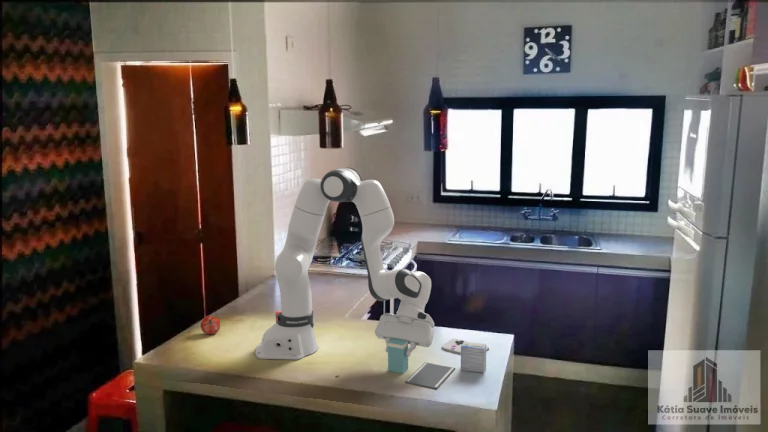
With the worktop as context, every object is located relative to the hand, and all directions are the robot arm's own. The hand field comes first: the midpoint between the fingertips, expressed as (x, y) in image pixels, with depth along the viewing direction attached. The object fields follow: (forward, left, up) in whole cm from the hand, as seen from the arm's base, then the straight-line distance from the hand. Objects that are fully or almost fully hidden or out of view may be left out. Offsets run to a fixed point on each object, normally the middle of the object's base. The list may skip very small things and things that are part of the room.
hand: (397, 353), depth 203 cm
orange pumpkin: (-69, +44, -6) cm, 82 cm away
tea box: (0, +1, -6) cm, 6 cm away
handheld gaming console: (+26, +15, -7) cm, 31 cm away
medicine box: (+25, -2, -6) cm, 26 cm away
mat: (+10, -5, -6) cm, 13 cm away
